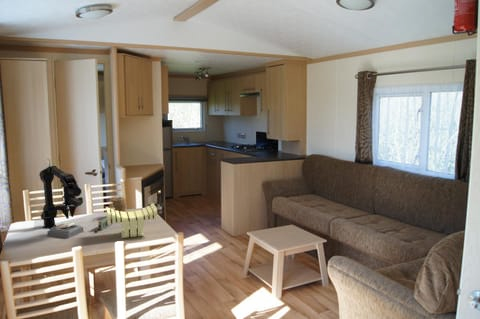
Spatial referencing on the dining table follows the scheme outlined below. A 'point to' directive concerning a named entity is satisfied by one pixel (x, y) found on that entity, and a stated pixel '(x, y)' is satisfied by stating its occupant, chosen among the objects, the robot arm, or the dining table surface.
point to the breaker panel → (65, 231)
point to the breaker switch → (65, 225)
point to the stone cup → (120, 205)
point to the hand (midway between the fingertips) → (70, 217)
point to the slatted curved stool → (132, 220)
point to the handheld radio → (103, 224)
